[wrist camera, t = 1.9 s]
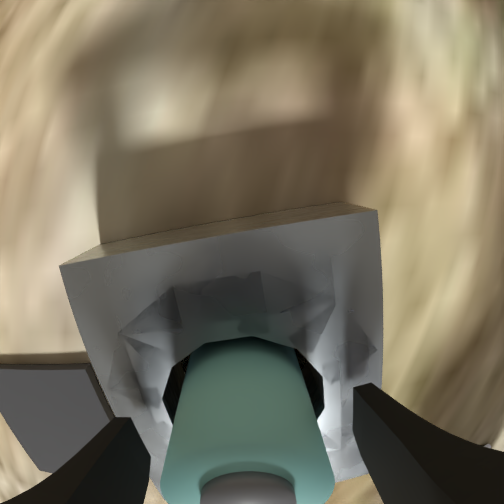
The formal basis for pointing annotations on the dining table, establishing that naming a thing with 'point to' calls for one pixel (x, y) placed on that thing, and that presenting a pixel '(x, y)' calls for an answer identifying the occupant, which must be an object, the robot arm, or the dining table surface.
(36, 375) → the mat
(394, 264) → the dining table surface
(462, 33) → the dining table surface
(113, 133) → the dining table surface
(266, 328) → the housing
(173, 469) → the teal and grey cylinder
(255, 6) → the dining table surface
